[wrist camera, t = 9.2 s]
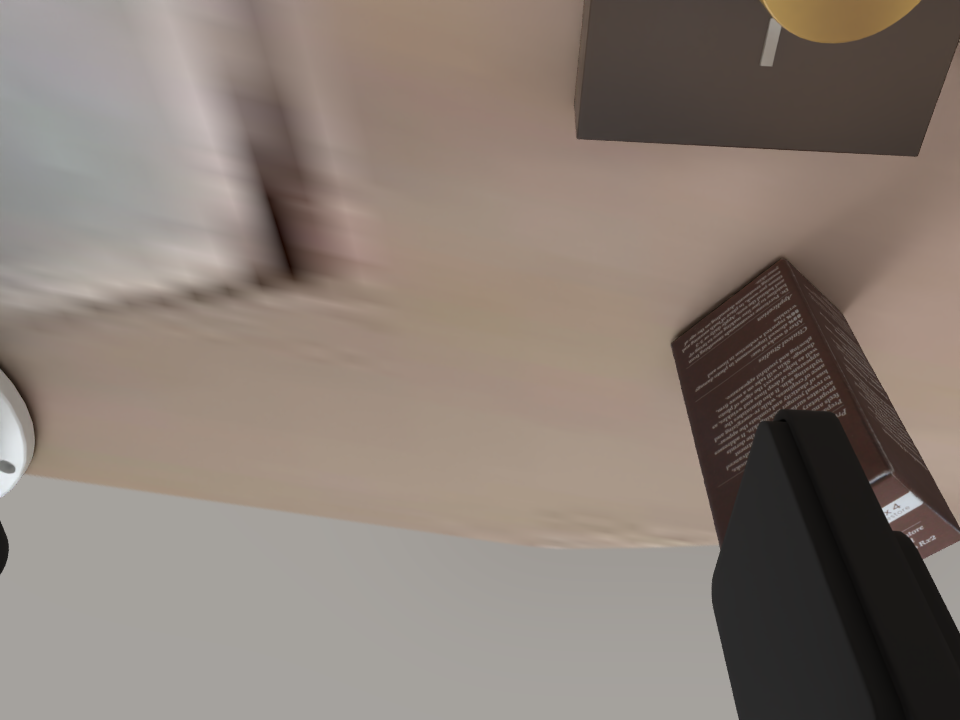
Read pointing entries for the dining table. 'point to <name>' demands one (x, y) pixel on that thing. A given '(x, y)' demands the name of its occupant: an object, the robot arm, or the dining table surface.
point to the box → (798, 399)
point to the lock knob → (837, 17)
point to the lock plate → (758, 78)
